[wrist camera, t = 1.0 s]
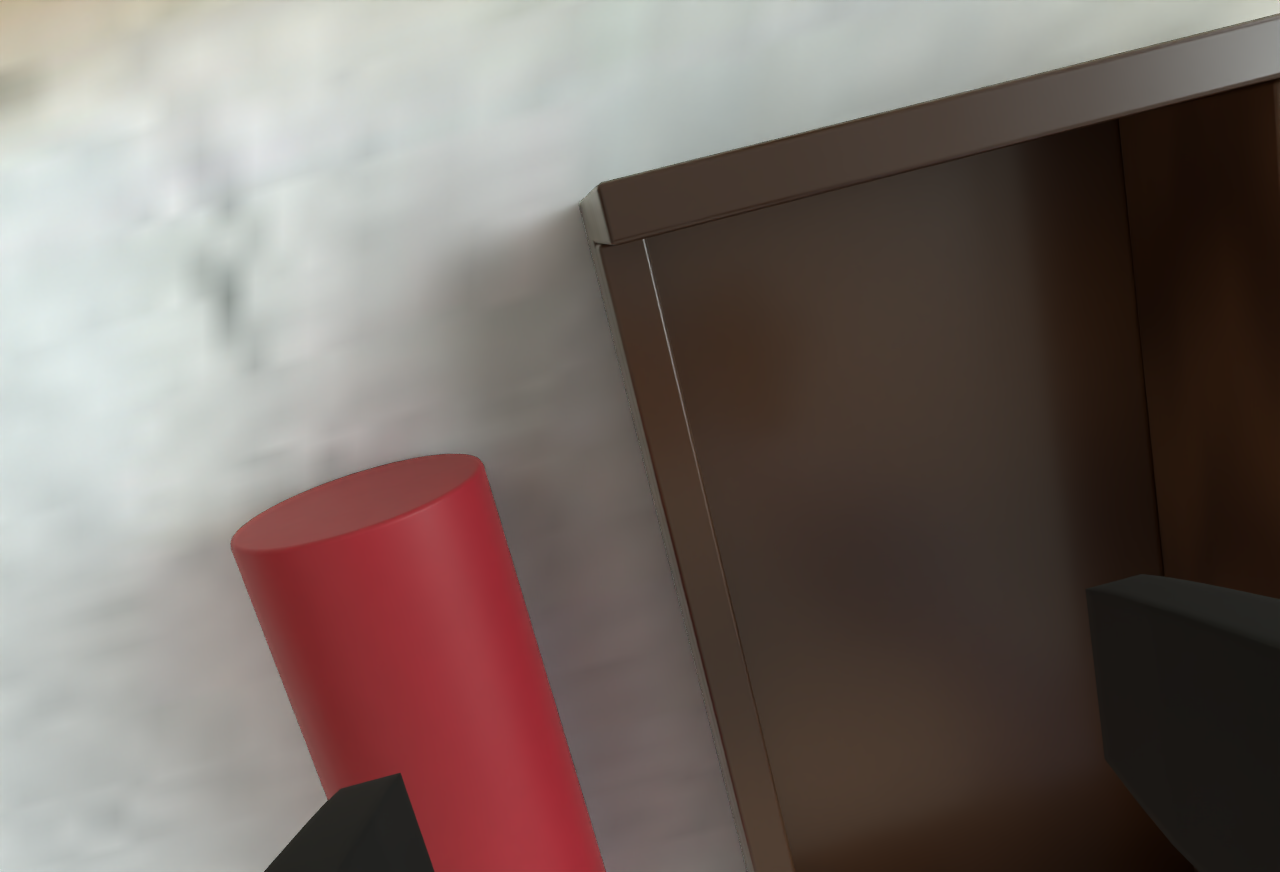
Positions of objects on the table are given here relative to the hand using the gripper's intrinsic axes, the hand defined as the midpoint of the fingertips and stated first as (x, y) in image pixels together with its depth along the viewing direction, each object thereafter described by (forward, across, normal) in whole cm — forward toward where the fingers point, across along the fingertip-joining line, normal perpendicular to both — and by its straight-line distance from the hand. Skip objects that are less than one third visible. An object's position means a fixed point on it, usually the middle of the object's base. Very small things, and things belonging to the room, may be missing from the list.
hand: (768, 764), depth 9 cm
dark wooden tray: (+10, -7, +3) cm, 12 cm away
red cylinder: (+7, +5, +4) cm, 10 cm away
